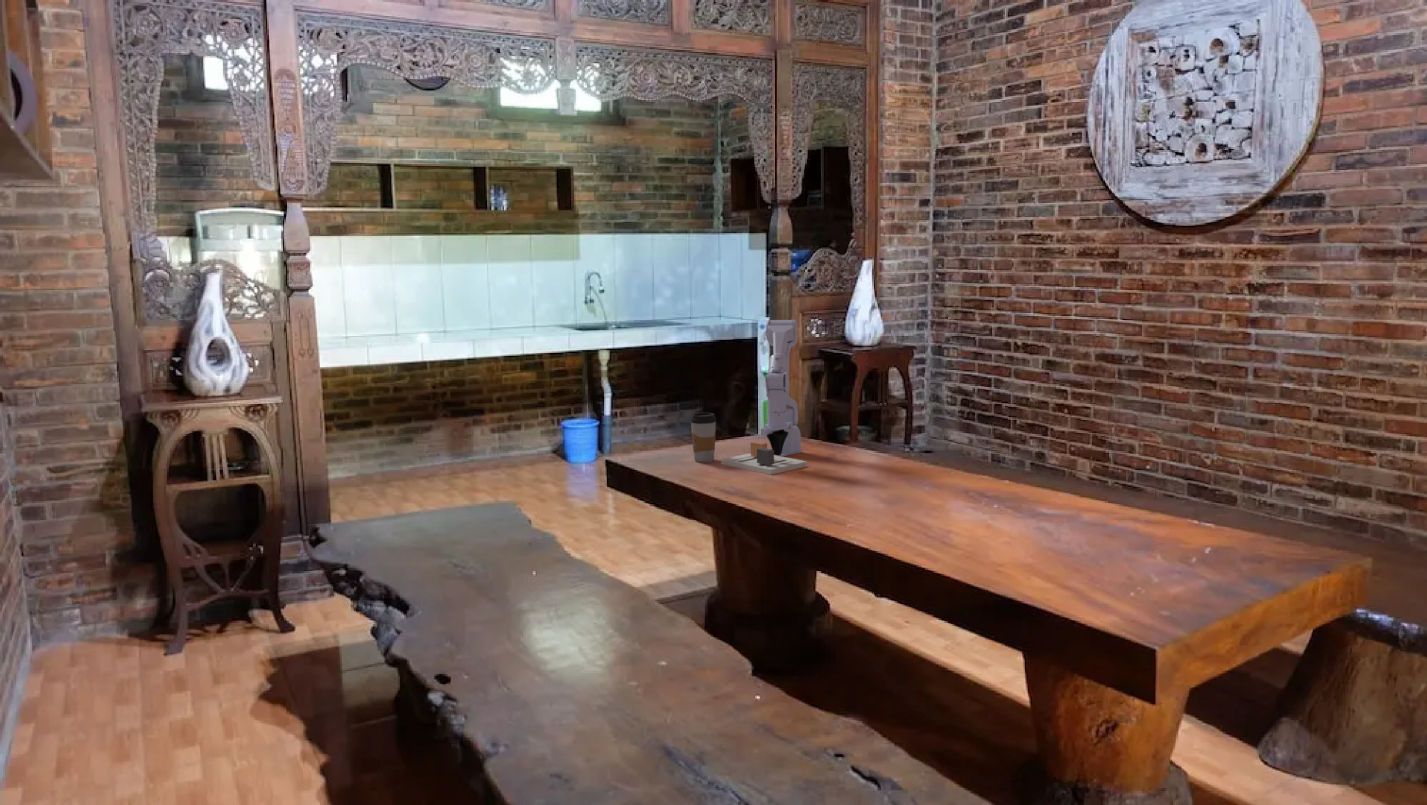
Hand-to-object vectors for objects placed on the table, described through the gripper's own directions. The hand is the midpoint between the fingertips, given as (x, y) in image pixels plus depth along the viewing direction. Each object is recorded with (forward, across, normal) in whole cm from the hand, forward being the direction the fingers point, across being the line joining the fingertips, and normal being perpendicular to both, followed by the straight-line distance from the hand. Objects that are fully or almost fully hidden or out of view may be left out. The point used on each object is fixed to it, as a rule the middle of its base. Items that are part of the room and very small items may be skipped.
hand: (777, 454), depth 306 cm
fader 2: (+2, +5, -1) cm, 6 cm away
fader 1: (+2, -2, -9) cm, 9 cm away
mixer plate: (+4, 0, -5) cm, 6 cm away
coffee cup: (+4, +5, -25) cm, 26 cm away
